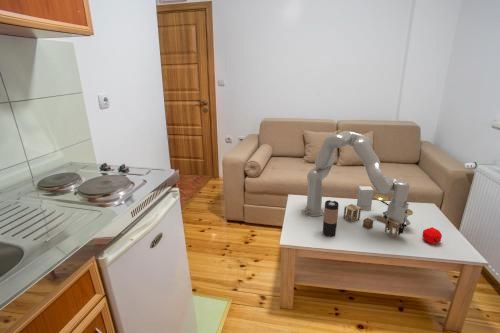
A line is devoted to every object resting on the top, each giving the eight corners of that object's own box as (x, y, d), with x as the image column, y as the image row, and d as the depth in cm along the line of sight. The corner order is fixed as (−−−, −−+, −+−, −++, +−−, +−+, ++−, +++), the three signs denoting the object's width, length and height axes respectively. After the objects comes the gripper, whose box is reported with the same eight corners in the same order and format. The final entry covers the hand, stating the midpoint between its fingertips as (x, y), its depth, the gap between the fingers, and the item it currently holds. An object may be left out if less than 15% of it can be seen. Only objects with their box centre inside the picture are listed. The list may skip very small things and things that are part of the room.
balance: (404, 233, 167) (408, 211, 162) (367, 216, 187) (370, 196, 182) (412, 228, 171) (416, 207, 167) (375, 212, 191) (378, 192, 186)
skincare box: (368, 206, 200) (371, 186, 195) (371, 210, 194) (374, 189, 189) (356, 205, 201) (358, 185, 196) (358, 210, 195) (361, 189, 189)
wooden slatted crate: (352, 222, 179) (353, 210, 176) (343, 218, 185) (344, 206, 182) (359, 219, 183) (360, 207, 180) (350, 215, 188) (351, 203, 185)
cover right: (402, 233, 163) (405, 220, 160) (395, 237, 160) (398, 224, 157) (391, 228, 169) (393, 215, 166) (384, 231, 165) (386, 218, 162)
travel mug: (328, 238, 163) (331, 207, 156) (319, 232, 169) (322, 201, 163) (338, 234, 166) (341, 204, 160) (329, 228, 173) (332, 199, 166)
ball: (432, 247, 154) (435, 234, 152) (419, 239, 161) (421, 227, 158) (442, 243, 157) (445, 231, 154) (428, 236, 164) (431, 224, 161)
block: (368, 229, 171) (369, 222, 170) (362, 226, 175) (363, 219, 173) (372, 227, 173) (373, 220, 172) (366, 224, 177) (367, 217, 175)
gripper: (418, 206, 153) (412, 234, 159) (388, 195, 167) (384, 221, 172) (410, 209, 149) (405, 239, 155) (380, 198, 163) (376, 225, 169)
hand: (394, 229), depth 164 cm, fingers closed on cover right, 7 cm apart
